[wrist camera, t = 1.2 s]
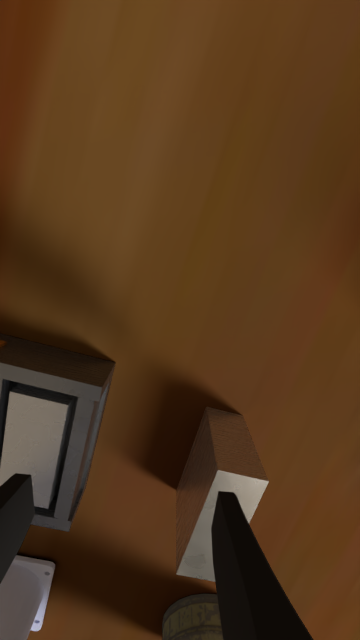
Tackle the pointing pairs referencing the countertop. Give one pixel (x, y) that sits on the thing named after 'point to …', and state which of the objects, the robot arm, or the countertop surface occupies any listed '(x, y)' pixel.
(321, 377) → the countertop surface
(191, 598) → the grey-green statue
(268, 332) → the countertop surface
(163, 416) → the countertop surface
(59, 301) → the countertop surface
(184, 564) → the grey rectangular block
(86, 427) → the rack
